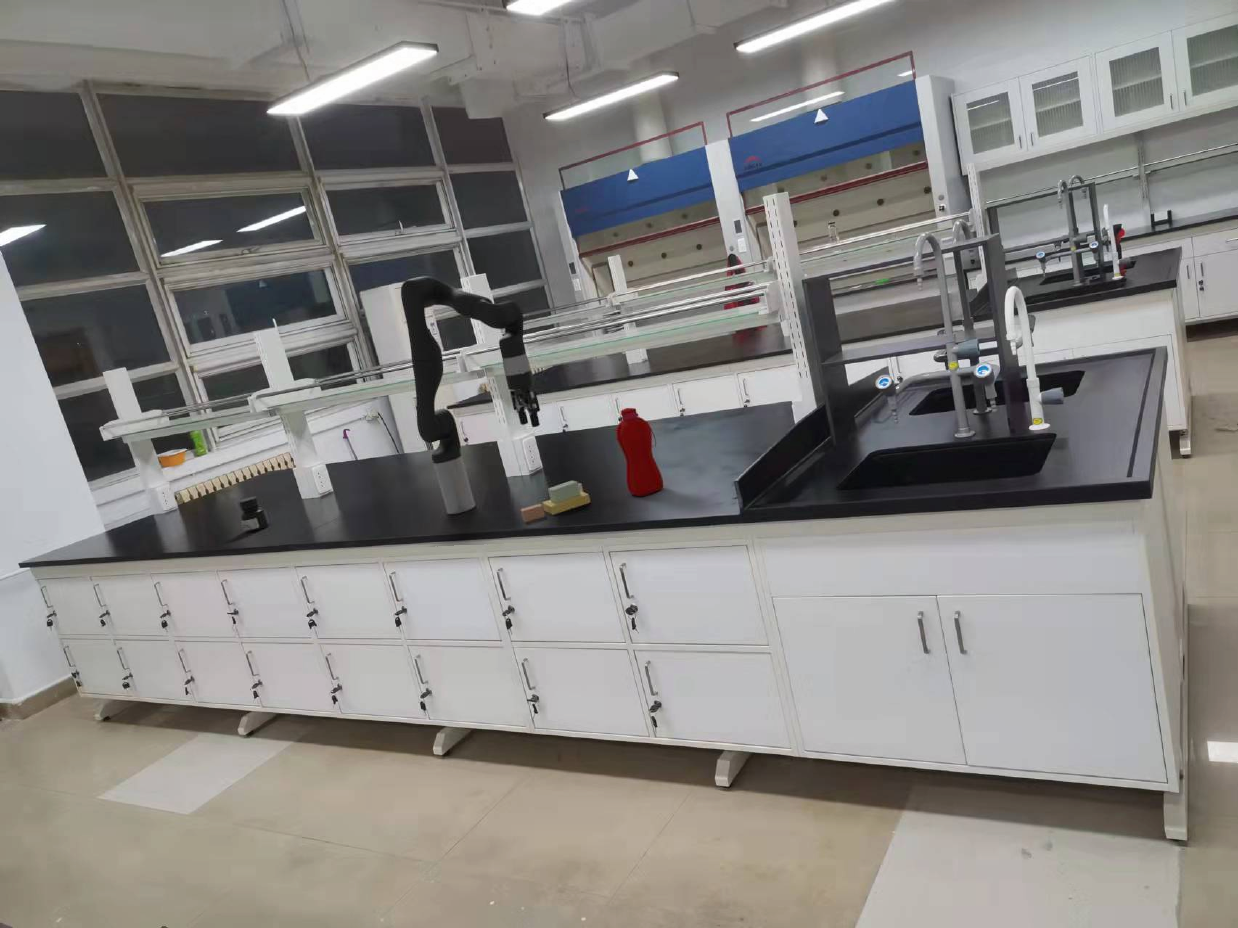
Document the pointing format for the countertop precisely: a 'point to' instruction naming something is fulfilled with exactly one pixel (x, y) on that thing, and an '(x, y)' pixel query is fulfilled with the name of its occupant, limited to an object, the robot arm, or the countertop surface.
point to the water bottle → (638, 454)
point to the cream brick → (580, 487)
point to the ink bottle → (252, 514)
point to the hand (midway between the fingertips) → (530, 425)
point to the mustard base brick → (566, 503)
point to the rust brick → (532, 512)
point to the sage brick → (564, 491)
